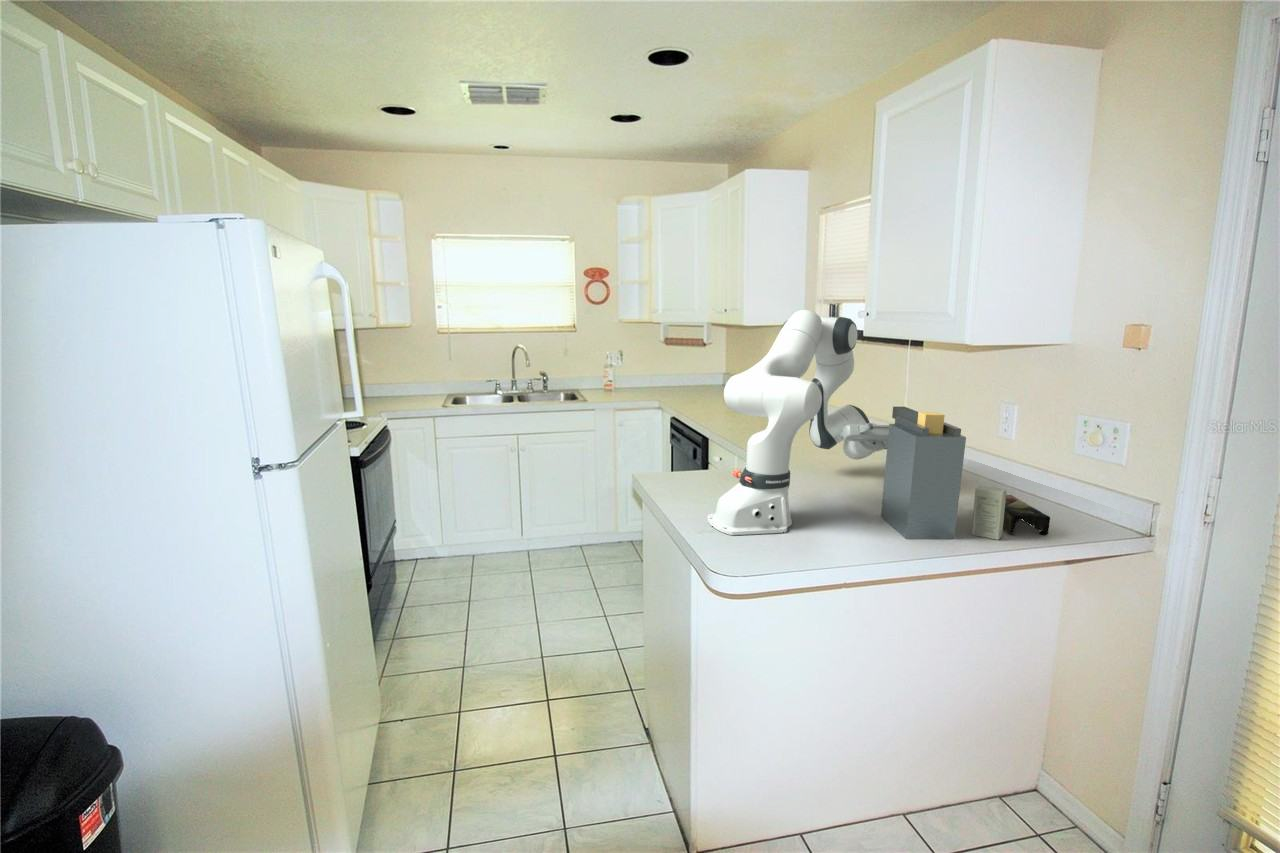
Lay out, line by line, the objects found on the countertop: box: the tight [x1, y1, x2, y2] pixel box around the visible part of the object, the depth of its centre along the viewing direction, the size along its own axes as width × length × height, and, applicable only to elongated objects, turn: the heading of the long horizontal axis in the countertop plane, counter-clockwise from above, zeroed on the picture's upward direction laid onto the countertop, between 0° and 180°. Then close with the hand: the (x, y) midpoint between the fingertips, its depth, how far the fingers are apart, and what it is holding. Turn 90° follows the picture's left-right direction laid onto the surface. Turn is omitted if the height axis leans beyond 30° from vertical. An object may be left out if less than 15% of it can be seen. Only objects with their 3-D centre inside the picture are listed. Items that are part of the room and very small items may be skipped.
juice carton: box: [1003, 493, 1051, 536], centre depth 163 cm, size 20×10×6 cm, turn 176°
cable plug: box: [891, 406, 946, 433], centre depth 160 cm, size 21×5×5 cm, turn 0°
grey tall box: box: [880, 416, 967, 540], centre depth 157 cm, size 16×12×28 cm
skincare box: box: [971, 485, 1007, 541], centre depth 153 cm, size 6×4×12 cm
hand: (886, 426), depth 179 cm, fingers open, 8 cm apart
